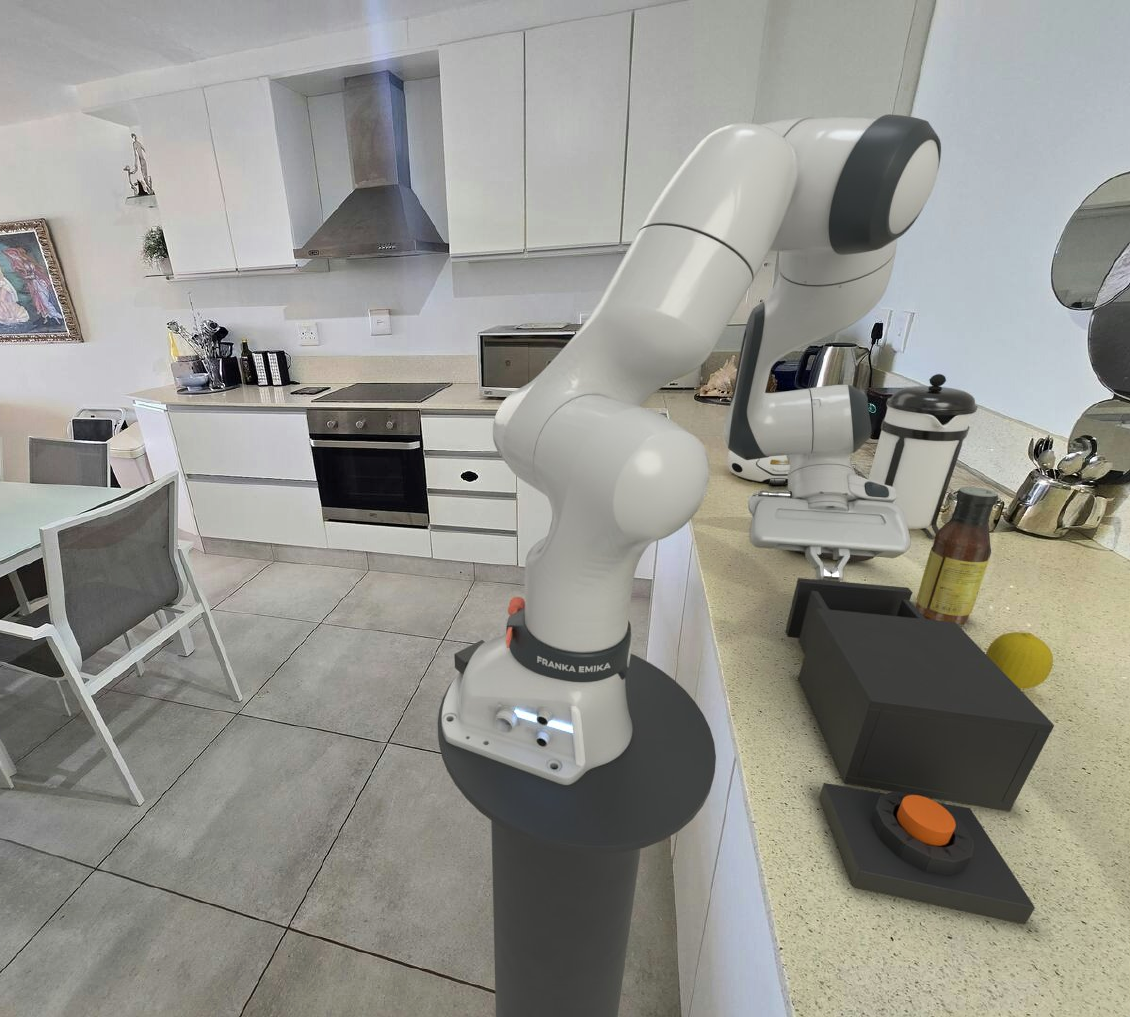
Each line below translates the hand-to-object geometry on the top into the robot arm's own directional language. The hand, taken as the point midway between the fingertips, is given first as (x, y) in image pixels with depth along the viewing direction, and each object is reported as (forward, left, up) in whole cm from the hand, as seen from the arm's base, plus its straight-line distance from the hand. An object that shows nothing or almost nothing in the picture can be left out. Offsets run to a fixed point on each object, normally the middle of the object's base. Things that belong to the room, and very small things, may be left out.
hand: (829, 580), depth 79 cm
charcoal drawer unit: (0, -23, -7) cm, 24 cm away
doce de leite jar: (+6, +64, -7) cm, 64 cm away
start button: (-4, -38, -3) cm, 39 cm away
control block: (-4, -38, -7) cm, 39 cm away
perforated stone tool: (+7, +22, -7) cm, 24 cm away
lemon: (+17, -11, -7) cm, 22 cm away
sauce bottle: (+17, +5, -7) cm, 19 cm away
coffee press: (+24, +40, -7) cm, 47 cm away
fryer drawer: (0, -12, -6) cm, 13 cm away
